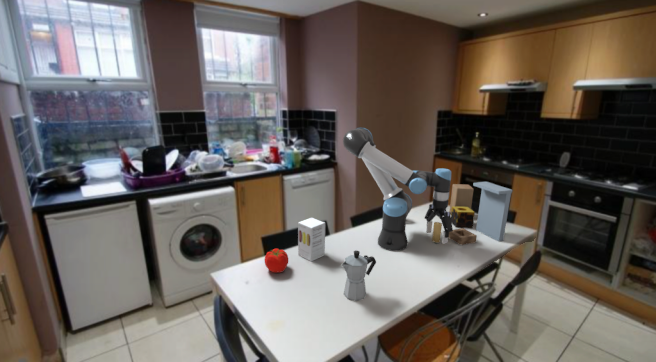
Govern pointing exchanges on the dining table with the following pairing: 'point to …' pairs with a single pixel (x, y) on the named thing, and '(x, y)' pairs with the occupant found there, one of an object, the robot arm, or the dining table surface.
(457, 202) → the wooden block
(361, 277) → the coffee maker
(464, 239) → the socket block
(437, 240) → the peg
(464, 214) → the yellow black tissue box
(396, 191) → the robot arm
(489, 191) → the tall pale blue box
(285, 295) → the dining table surface
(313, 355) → the dining table surface
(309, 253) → the supplement box
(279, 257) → the tomato
